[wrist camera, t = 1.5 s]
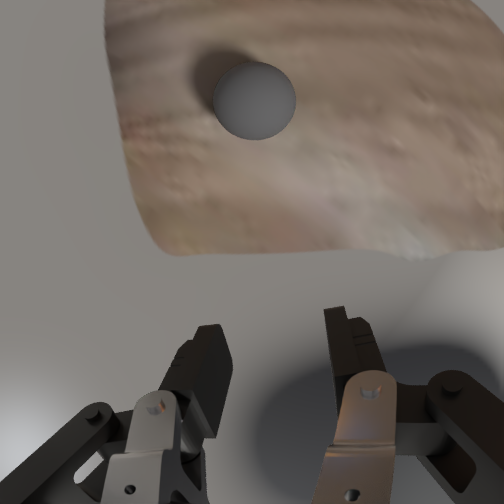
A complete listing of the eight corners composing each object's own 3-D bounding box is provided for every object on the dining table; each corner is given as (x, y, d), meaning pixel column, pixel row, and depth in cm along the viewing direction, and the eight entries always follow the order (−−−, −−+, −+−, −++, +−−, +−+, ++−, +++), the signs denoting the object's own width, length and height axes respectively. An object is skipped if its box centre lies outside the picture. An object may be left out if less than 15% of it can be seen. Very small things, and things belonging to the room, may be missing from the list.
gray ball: (215, 81, 24) (195, 65, 18) (285, 64, 23) (285, 44, 17) (230, 147, 26) (215, 149, 20) (302, 132, 25) (306, 130, 19)
